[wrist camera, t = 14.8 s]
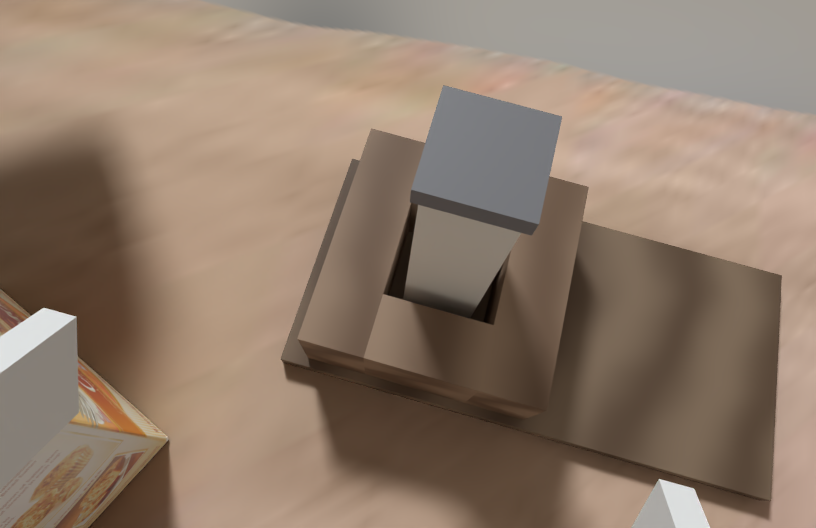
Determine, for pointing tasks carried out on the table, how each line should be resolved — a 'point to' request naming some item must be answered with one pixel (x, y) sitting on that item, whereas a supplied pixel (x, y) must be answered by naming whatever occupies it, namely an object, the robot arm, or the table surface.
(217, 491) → the table surface
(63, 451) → the coffeecake box
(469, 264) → the post
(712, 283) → the wooden socket base
